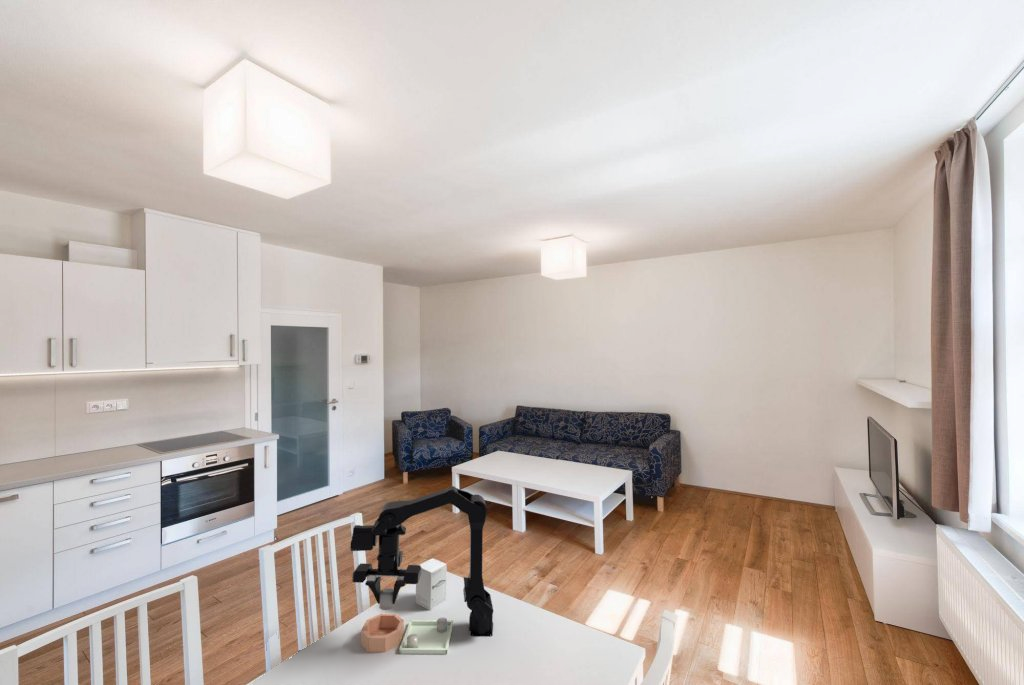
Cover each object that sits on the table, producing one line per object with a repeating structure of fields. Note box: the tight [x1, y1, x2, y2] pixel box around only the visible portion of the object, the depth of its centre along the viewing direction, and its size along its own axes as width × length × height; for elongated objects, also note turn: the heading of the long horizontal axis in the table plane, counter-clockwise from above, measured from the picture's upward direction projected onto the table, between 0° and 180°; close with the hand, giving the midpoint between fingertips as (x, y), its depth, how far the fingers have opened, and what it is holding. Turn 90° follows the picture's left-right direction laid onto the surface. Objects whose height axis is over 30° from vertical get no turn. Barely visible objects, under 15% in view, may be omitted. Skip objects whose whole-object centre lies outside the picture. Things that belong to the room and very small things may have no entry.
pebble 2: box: [436, 617, 448, 633], centre depth 128 cm, size 3×3×3 cm
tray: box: [398, 619, 454, 655], centre depth 124 cm, size 13×13×2 cm
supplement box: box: [415, 557, 448, 611], centre depth 142 cm, size 7×7×13 cm
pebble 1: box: [407, 634, 418, 648], centre depth 120 cm, size 3×3×3 cm
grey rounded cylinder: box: [378, 587, 395, 611], centre depth 124 cm, size 4×4×4 cm
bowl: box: [360, 613, 405, 653], centre depth 124 cm, size 11×11×4 cm
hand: (386, 603), depth 124 cm, fingers closed on grey rounded cylinder, 4 cm apart
